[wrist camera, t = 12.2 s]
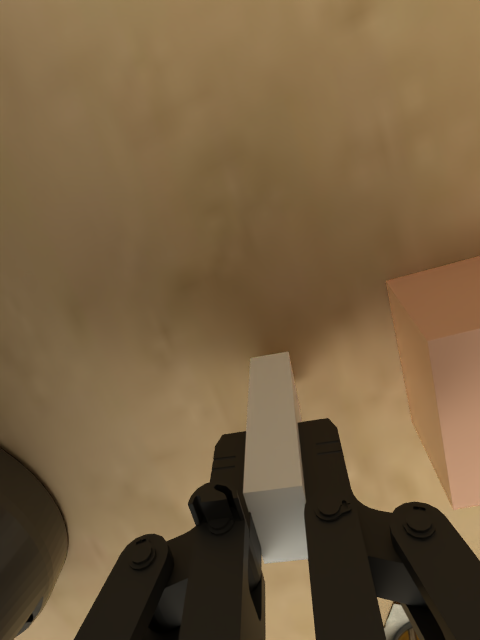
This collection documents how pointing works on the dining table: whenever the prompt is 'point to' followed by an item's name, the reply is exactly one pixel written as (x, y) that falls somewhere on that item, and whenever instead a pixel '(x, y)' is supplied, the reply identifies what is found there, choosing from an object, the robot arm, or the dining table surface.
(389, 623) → the condiment
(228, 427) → the dining table surface
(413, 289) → the pink rectangular block
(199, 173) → the dining table surface
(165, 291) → the dining table surface
